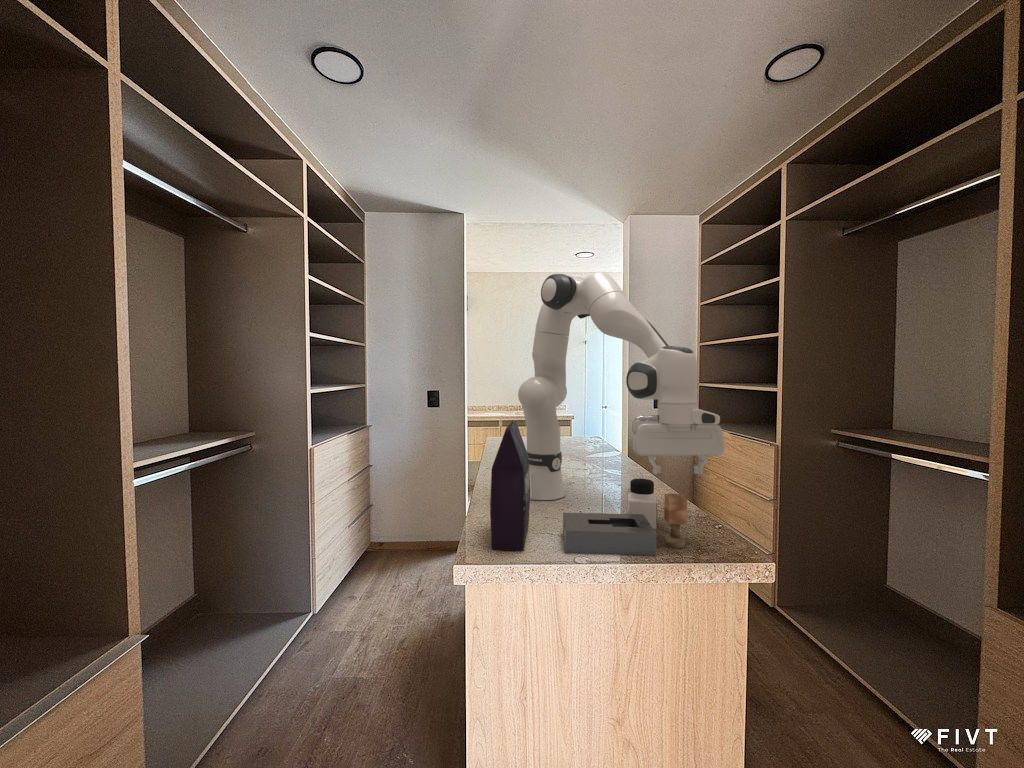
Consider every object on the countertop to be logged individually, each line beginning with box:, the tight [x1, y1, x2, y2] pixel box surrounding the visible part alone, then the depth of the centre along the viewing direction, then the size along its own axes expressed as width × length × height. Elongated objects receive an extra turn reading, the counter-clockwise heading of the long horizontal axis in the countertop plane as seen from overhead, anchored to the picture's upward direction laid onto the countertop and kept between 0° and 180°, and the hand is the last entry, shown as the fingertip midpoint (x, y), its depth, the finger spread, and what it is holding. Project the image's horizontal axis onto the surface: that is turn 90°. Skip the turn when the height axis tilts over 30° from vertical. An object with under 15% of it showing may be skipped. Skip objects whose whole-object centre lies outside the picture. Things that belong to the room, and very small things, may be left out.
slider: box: [663, 493, 688, 550], centre depth 106 cm, size 4×4×12 cm
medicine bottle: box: [626, 477, 658, 530], centre depth 120 cm, size 7×7×12 cm
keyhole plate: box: [562, 511, 657, 556], centre depth 107 cm, size 20×13×5 cm, turn 86°
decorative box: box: [489, 420, 531, 552], centre depth 110 cm, size 8×16×28 cm, turn 174°
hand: (677, 474), depth 106 cm, fingers open, 8 cm apart
